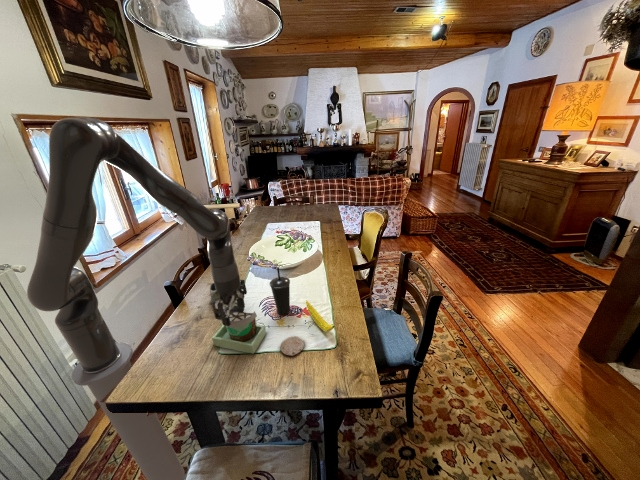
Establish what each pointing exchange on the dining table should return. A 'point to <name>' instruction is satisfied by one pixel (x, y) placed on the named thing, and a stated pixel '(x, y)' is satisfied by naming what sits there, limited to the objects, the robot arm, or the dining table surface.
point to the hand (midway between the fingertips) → (234, 316)
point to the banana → (318, 318)
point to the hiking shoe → (215, 298)
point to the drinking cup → (281, 293)
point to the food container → (242, 326)
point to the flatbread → (292, 345)
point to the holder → (249, 346)
